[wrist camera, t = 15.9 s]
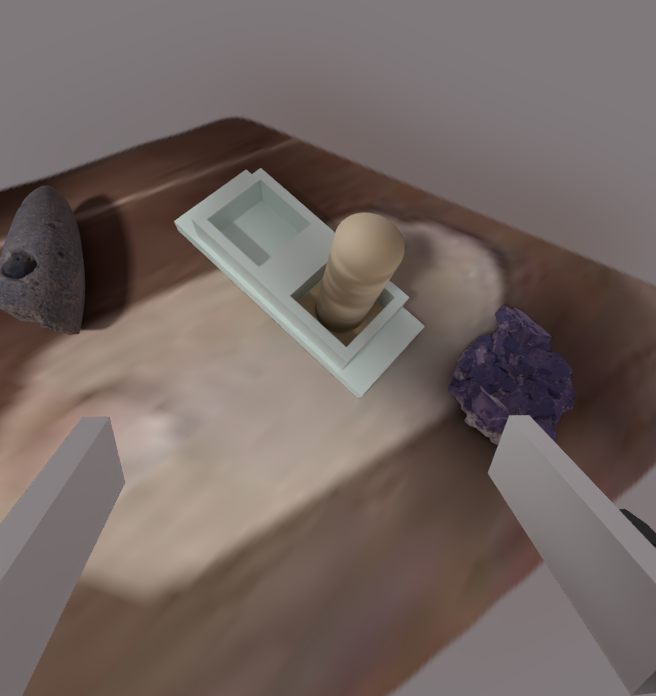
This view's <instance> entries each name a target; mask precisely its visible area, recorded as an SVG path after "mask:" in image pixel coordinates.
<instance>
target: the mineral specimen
mask: <svg viewBox="0 0 656 696" xmlns="http://www.w3.org/2000/svg"><path fill="white" fill-rule="evenodd" d="M495 316H496V319H497V324H498V326H499V328H498V330H497V331H496V333H494V334H493V336H492V338H491V335H486V336H479V337H478V338H477V341H476V342H473V343H472V344H471V345H470V346H469V348H467V349H466V350H465V351H464V352H463V354H462V356H461V357H460V358H459V359H458V363H457V367H456V370H455V371H454V372H453V373H452V374H451V375H452V377H453V379H454V381H453V382H452V383H451V384H449V387H448V391H449V393H450V394H451V395H452V396H455V398H456V400H457V401H458V402H459V403H460V404H461V409H462V410H463V411H464V412H465V413H466V414H467V417H466V419H465V422H466V423H467V424H468V425H469V426H472V427H475V428H477V429H478V430H479V431H480V432H481V433H482V434H484V435H485V436H486V437H490V441H491V442H493V443H495V444H496V445H498V444H499V442H500V439H501V436H502V433H503V431H504V428H505V425H506V423H507V420H508V417H509V415H529V416H530V417H531V418H532V419H533V420H534V421H535V422H536V423H537V424H538V425H539V426H540V427H541V428H542V429H543V430H544V431H545V432H546V433H547V435H548V436H549V437H550V438H551V439H552V440H553V441H554V442H555V440H556V430H554V428H553V426H554V425H555V424H556V423H558V422H559V421H560V418H562V414H563V413H564V412H565V411H568V410H571V409H572V408H573V406H574V405H575V403H574V400H573V398H575V397H576V396H577V395H579V394H578V393H577V392H576V391H575V390H574V389H572V381H571V378H570V376H571V374H572V373H573V371H572V369H571V368H570V366H569V365H568V363H567V361H566V360H564V359H563V356H561V355H559V354H557V353H555V352H553V353H552V352H551V348H550V340H551V339H552V338H553V337H551V336H550V335H549V334H548V333H547V332H546V331H545V330H544V329H543V328H542V327H541V326H540V325H538V324H536V323H535V322H534V321H532V319H530V318H529V317H528V315H526V314H525V313H524V312H523V311H521V310H519V309H516V308H513V309H510V308H508V307H507V306H503V307H501V308H500V309H499V311H498V312H497V313H496V314H495Z"/></svg>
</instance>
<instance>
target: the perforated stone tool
mask: <svg viewBox="0 0 656 696" xmlns="http://www.w3.org/2000/svg"><path fill="white" fill-rule="evenodd" d="M84 303H85V271H84V260H83V253H82V245H81V238H80V233H79V229H78V225H77V222H76V219H75V216H74V214H73V212H72V210H71V208H70V206H69V204H68V202H67V201H66V199H65V198H64V197H63V196H62V195H61V194H60V192H58V191H57V190H56V189H55V188H53V187H51V186H50V185H47V186H46V185H45V186H41V187H39V188H37V189H35V190H34V191H33V192H31V193H30V194H29V195H28V196H27V197H26V198H25V200H24V201H23V202H22V205H21V207H20V208H19V209H18V210H17V212H16V215H15V217H14V220H13V222H12V224H11V227H10V231H9V233H8V235H7V238H6V241H5V244H4V248H3V251H2V254H1V257H0V310H2V311H4V312H6V313H8V314H11V315H13V316H14V318H17V319H19V320H20V321H25V322H35V323H38V324H39V325H41V326H42V327H43V328H47V329H52V330H55V331H56V332H61V333H62V332H64V333H67V334H69V335H73V334H79V332H80V328H81V324H82V318H83V311H84Z"/></svg>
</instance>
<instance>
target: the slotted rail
mask: <svg viewBox="0 0 656 696" xmlns="http://www.w3.org/2000/svg"><path fill="white" fill-rule="evenodd" d="M174 222H175V225H176V227H177V229H178V231H179V232H181V233H182V234H183V235H184V236H185V237H186V238H187V239H188V240H189V241H190V242H191V243H192V244H193V245H194V246H195V247H197V248H198V249H199V250H200V251H201V252H202V253H203V254H204V255H205V256H206V257H207V258H208V259H209V260H210V261H212V262H213V263H214V264H215V265H216V266H217V267H218V268H219V269H220V270H221V271H222V272H223V273H224V274H225V275H227V276H228V277H229V278H230V279H231V280H232V281H233V282H234V283H235V284H236V285H237V286H238V287H239V288H240V289H242V290H243V291H244V292H245V293H246V294H247V295H248V296H249V297H250V298H251V299H252V300H253V301H254V302H255V303H256V304H258V305H259V306H260V307H261V308H262V309H263V310H264V311H265V312H266V313H267V314H268V315H269V316H270V317H271V318H273V319H274V320H275V321H276V322H277V323H278V324H279V325H280V326H281V327H282V328H283V329H284V330H285V331H286V332H288V333H289V334H290V335H291V336H292V337H293V338H294V339H295V340H296V341H297V342H298V343H299V344H300V345H301V346H303V347H304V348H305V349H306V350H307V351H308V352H309V353H310V354H311V355H312V356H313V357H314V358H315V359H316V360H317V361H319V362H320V363H321V364H322V365H323V366H324V367H325V368H326V369H327V370H328V371H329V372H330V373H331V374H332V375H334V376H335V377H336V378H337V379H338V380H339V381H340V382H341V383H342V384H343V385H344V386H345V387H346V388H347V389H349V390H350V391H351V392H352V393H353V394H354V395H355V396H356V397H357V398H358V399H359V398H360V397H361V396H362V395H363V394H364V393H365V392H366V391H367V390H368V389H369V388H370V387H371V385H372V384H373V383H374V382H375V381H376V380H377V379H378V378H379V377H380V375H381V374H382V373H383V372H384V371H385V370H386V369H387V368H388V367H389V366H390V364H391V363H392V362H393V361H394V360H395V359H396V358H397V357H398V356H399V354H400V353H401V352H402V351H403V350H404V349H405V348H406V347H407V346H408V345H409V343H410V342H411V341H412V340H413V339H414V338H415V337H416V336H417V335H418V333H419V332H420V331H421V330H422V329H423V328H424V327H425V326H424V325H423V324H422V323H421V322H420V321H418V320H417V319H416V318H415V317H414V316H413V315H412V314H410V313H409V312H408V311H407V310H406V309H405V308H404V307H403V305H404V304H405V303H406V301H407V300H408V299H409V297H408V296H407V295H406V294H405V293H404V292H403V291H401V290H400V289H399V288H398V287H397V286H396V285H395V284H393V283H392V282H391V281H390V280H389V281H388V283H387V284H386V286H385V288H384V289H383V291H382V292H381V294H380V295H379V297H378V298H377V300H376V301H375V303H374V304H373V306H372V307H371V309H370V310H369V312H368V313H367V315H366V317H365V318H364V320H363V321H362V323H361V324H360V325H359V326H358V327H357V328H356V329H355V330H353V331H351V332H348V333H335V332H332V331H329V330H327V329H326V328H325V327H324V326H323V325H321V323H320V322H319V320H318V319H317V316H316V312H315V305H316V301H317V297H318V294H319V290H320V286H321V283H322V279H323V275H324V272H325V268H326V264H327V261H328V257H329V253H330V250H331V246H332V243H333V239H334V235H335V232H334V231H333V230H331V229H330V228H329V227H328V226H327V225H326V224H325V223H323V222H322V221H321V220H320V219H319V218H318V217H316V216H315V215H314V214H313V213H312V212H311V211H310V210H308V209H307V208H306V207H305V206H304V205H303V204H302V203H300V202H299V201H298V200H297V199H296V198H295V197H294V196H292V195H291V194H290V193H289V192H288V191H287V190H285V189H284V188H283V187H282V186H281V185H280V184H279V183H277V182H276V181H275V180H274V179H273V178H272V177H271V176H269V175H268V174H267V173H266V172H265V171H264V170H263V169H261V168H260V169H259V170H257V171H256V172H254V173H253V174H251V173H250V172H249V171H248V170H245V171H243V172H242V173H240V174H239V175H238V176H236V177H235V178H234V179H232V180H231V181H229V182H228V183H227V184H225V185H224V186H222V187H221V188H220V189H218V190H217V191H215V192H214V193H213V194H211V195H210V196H209V197H207V198H206V199H204V200H203V201H202V202H200V203H199V204H197V205H196V206H195V207H193V208H192V209H190V210H189V211H188V212H186V213H185V214H183V215H182V216H181V217H179V218H178V219H177V220H175V221H174Z"/></svg>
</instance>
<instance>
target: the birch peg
mask: <svg viewBox="0 0 656 696" xmlns="http://www.w3.org/2000/svg"><path fill="white" fill-rule="evenodd" d="M404 252H405V245H404V240H403V237H402V235H401V233H400V231H399V230H398V228H397V227H396V226H395V225H394V224H393V223H392V222H391V221H389V220H388V219H386V218H384V217H382V216H380V215H377V214H373V213H357V214H353V215H351V216H349V217H347V218H346V219H344V220H343V221H342V222H341V223H340V224H339V226H338V227H337V229H336V232H335V235H334V239H333V243H332V246H331V250H330V253H329V257H328V261H327V264H326V268H325V272H324V275H323V279H322V283H321V286H320V290H319V294H318V297H317V301H316V305H315V312H316V316H317V319H318V320H319V322H320V323H321V325H323V326H324V327H325V328H326V329H327V330H329V331H332V332H335V333H348V332H351V331H353V330H355V329H356V328H357V327H358V326H359V325H360V324H361V323H362V321H363V320H364V318H365V317H366V315H367V313H368V312H369V310H370V309H371V307H372V306H373V304H374V303H375V301H376V300H377V298H378V297H379V295H380V294H381V292H382V291H383V289H384V288H385V286H386V284H387V283H388V281H389V280H390V278H391V277H392V275H393V274H394V272H395V271H396V269H397V268H398V266H399V265H400V263H401V261H402V259H403V256H404Z"/></svg>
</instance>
